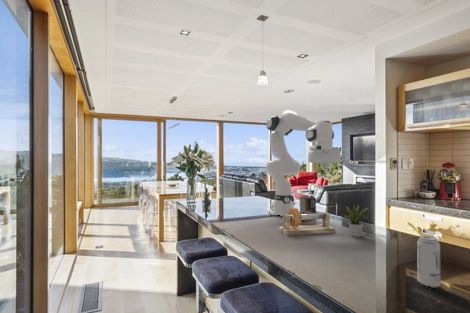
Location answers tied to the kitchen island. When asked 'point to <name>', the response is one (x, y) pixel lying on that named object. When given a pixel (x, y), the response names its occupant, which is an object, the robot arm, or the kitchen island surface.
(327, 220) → the pipe stand
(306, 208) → the coffee box
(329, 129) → the robot arm
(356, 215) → the house plant
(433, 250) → the energy drink can
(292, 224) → the orange faceted ring
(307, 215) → the steel pipe
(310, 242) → the kitchen island surface
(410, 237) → the kitchen island surface
